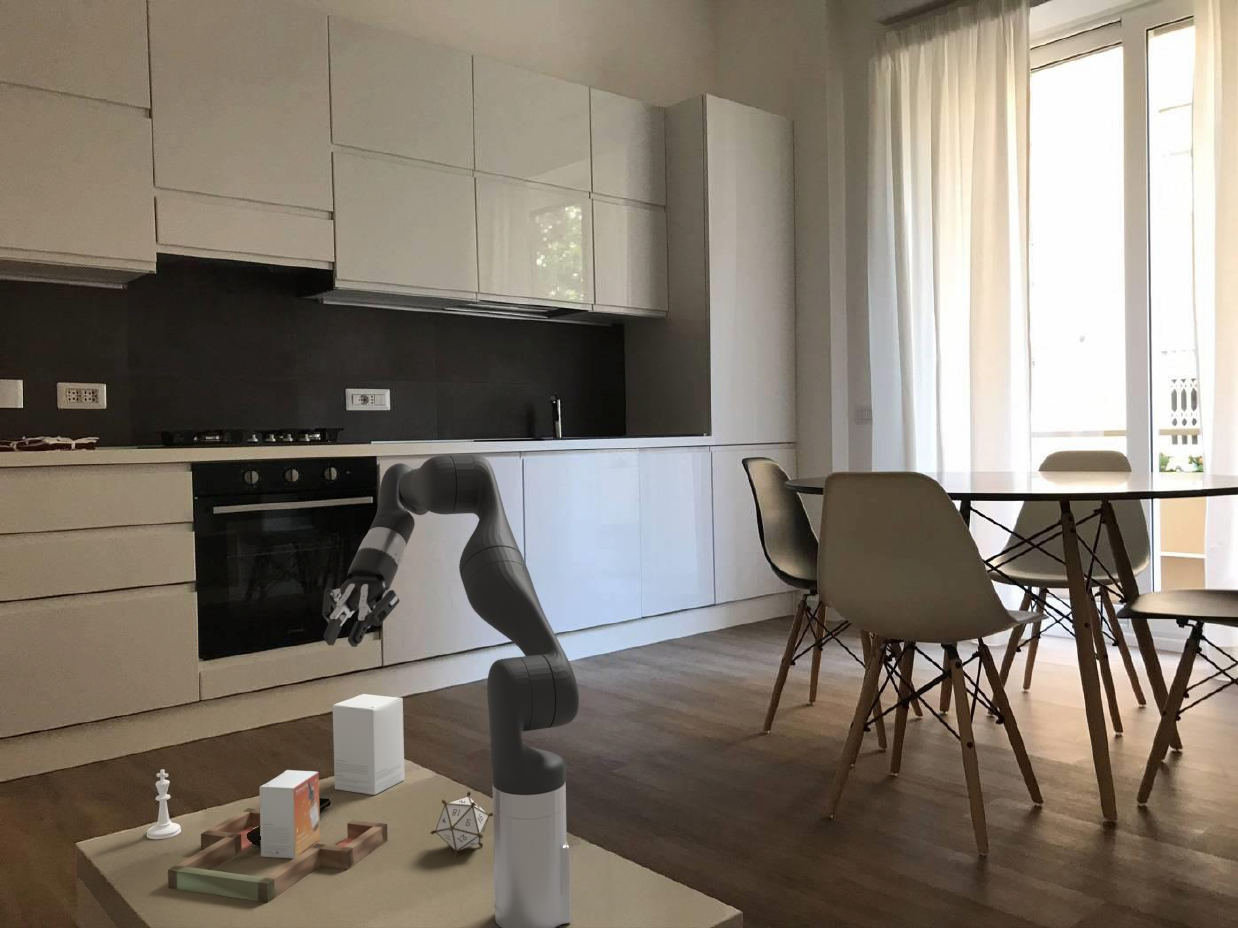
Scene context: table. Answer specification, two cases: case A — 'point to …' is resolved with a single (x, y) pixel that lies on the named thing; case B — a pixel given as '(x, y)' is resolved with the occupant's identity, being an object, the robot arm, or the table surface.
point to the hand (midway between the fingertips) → (340, 642)
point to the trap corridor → (233, 840)
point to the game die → (462, 823)
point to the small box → (289, 814)
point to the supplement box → (368, 743)
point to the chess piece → (163, 813)
